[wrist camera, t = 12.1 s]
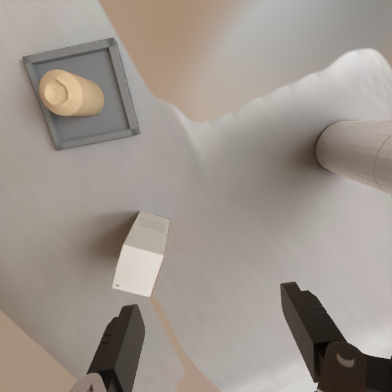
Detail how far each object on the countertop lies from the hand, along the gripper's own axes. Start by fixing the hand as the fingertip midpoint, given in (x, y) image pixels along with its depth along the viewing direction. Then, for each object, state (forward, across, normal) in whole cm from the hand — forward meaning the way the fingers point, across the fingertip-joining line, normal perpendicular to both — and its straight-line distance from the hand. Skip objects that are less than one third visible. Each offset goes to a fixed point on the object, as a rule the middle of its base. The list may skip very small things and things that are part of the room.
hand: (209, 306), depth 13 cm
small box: (+32, +12, +10) cm, 36 cm away
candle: (+31, +16, -16) cm, 38 cm away
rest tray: (+32, +16, -16) cm, 39 cm away
